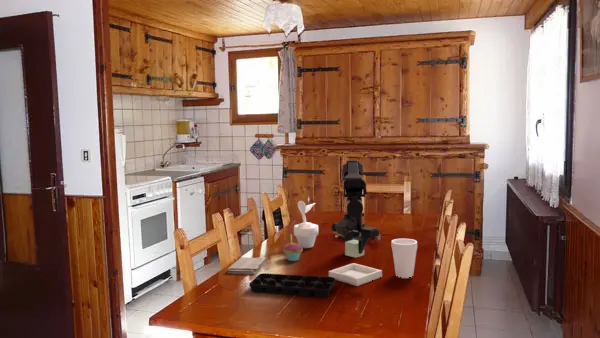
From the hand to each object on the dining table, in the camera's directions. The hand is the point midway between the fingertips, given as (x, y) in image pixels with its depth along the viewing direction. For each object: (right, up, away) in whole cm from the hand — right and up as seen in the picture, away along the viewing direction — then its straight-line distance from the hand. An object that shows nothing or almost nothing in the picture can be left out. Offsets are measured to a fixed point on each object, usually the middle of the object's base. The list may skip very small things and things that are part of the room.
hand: (354, 252), depth 186 cm
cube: (0, -1, 0) cm, 1 cm away
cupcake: (-23, -8, +27) cm, 36 cm away
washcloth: (-42, -10, +16) cm, 46 cm away
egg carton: (-23, -12, -11) cm, 28 cm away
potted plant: (-17, -5, +47) cm, 51 cm away
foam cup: (+19, -9, +1) cm, 21 cm away
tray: (0, -10, +1) cm, 10 cm away
